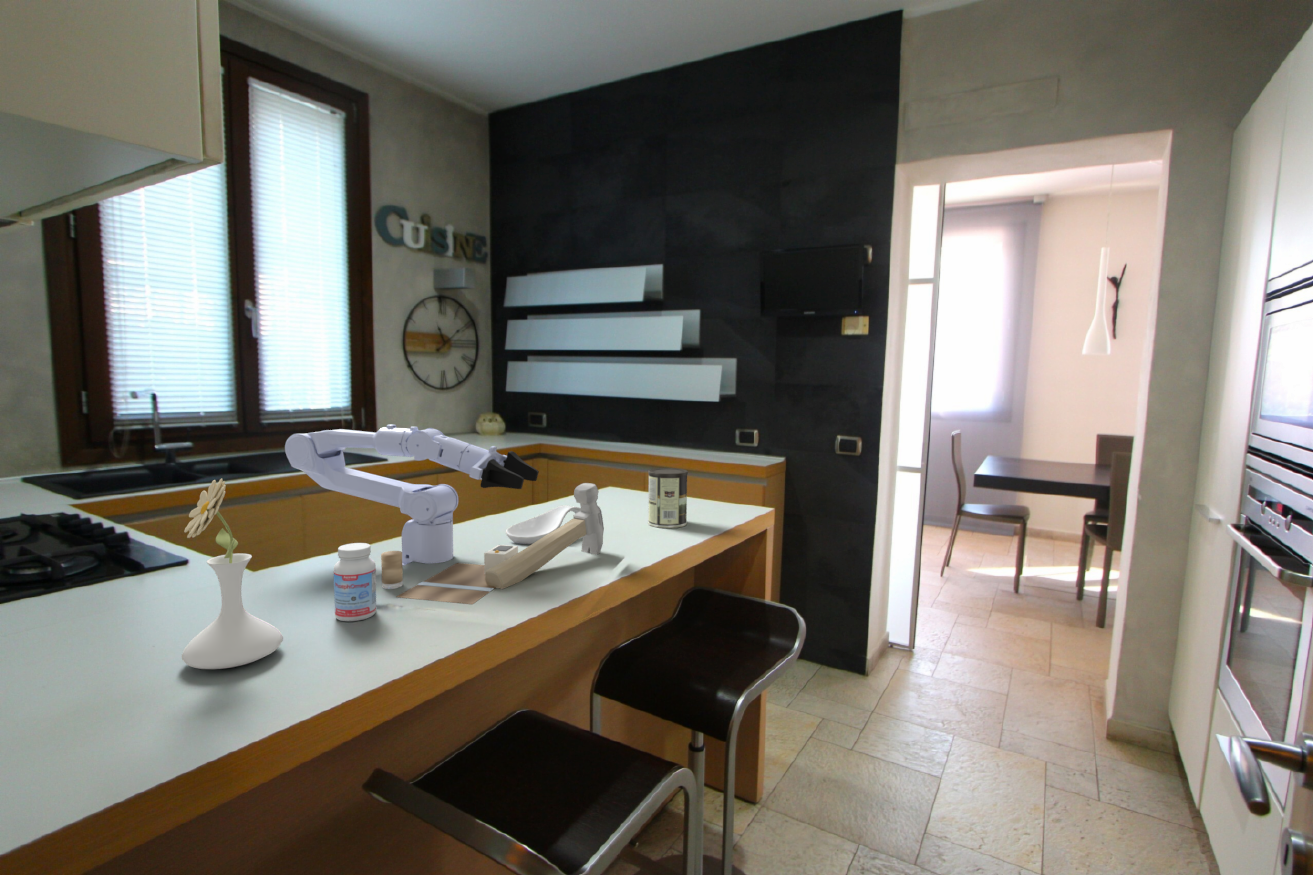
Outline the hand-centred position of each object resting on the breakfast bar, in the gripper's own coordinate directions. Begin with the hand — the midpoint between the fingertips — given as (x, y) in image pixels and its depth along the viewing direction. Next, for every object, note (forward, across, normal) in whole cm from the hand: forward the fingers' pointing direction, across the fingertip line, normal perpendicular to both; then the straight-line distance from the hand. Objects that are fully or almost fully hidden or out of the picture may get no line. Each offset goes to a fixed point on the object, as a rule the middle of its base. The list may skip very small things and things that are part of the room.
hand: (530, 479), depth 124 cm
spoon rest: (+1, +24, +20) cm, 31 cm away
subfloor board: (-2, -13, +19) cm, 23 cm away
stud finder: (+1, -6, +17) cm, 18 cm away
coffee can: (+25, +45, +14) cm, 53 cm away
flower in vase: (-18, -47, +22) cm, 55 cm away
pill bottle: (-13, -29, +22) cm, 38 cm away
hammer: (+9, -1, +17) cm, 19 cm away
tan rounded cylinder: (-13, -18, +22) cm, 31 cm away
